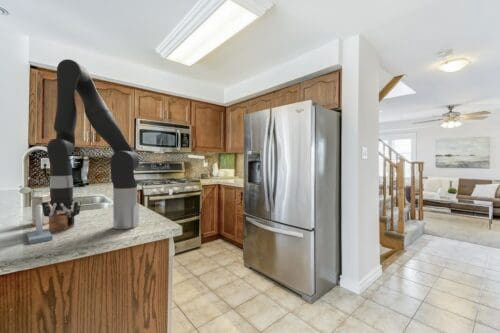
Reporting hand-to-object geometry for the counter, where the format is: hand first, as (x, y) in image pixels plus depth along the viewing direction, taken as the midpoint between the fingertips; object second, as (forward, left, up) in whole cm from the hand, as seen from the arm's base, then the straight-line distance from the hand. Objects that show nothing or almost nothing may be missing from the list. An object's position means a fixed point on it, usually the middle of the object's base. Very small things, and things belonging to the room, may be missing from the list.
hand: (62, 225), depth 96 cm
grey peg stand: (0, +12, -1) cm, 12 cm away
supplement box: (+13, -9, -1) cm, 16 cm away
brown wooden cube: (0, 0, -1) cm, 1 cm away
